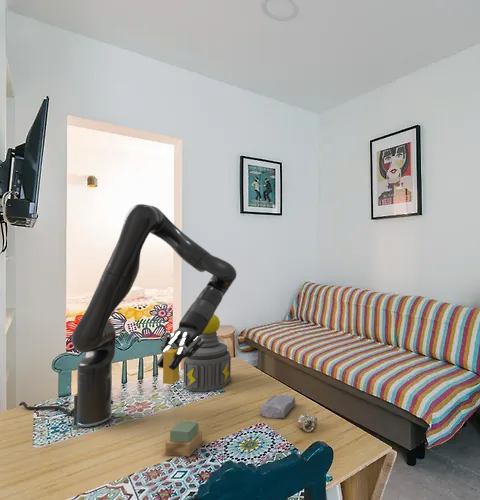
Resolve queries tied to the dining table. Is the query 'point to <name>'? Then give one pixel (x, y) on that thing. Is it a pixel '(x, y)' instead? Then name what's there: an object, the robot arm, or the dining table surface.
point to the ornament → (306, 422)
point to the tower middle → (184, 431)
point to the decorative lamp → (208, 362)
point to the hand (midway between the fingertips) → (165, 367)
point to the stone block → (277, 406)
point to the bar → (169, 374)
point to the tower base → (184, 446)
